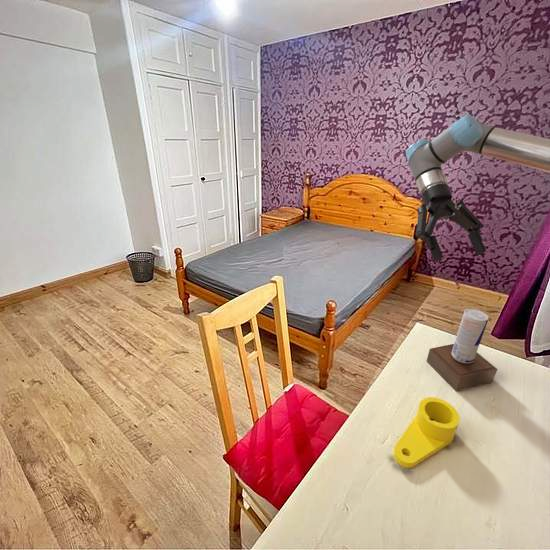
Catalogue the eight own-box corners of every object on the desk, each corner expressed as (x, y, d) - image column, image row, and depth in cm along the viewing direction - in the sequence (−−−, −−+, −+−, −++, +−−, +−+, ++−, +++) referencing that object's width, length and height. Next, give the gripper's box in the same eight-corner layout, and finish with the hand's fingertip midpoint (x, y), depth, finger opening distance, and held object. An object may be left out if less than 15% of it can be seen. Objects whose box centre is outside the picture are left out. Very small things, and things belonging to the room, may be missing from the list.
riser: (459, 354, 96) (463, 341, 94) (492, 382, 85) (497, 368, 83) (426, 361, 93) (429, 348, 91) (455, 391, 83) (460, 377, 81)
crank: (426, 408, 78) (431, 391, 76) (460, 432, 72) (466, 415, 70) (382, 448, 69) (385, 430, 67) (415, 479, 63) (421, 461, 60)
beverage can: (475, 366, 84) (491, 322, 77) (452, 362, 86) (466, 318, 79) (471, 353, 89) (485, 310, 82) (449, 349, 90) (462, 306, 84)
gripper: (460, 193, 95) (487, 256, 89) (389, 200, 90) (412, 267, 84) (479, 179, 88) (509, 245, 82) (403, 185, 83) (428, 256, 77)
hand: (460, 256), depth 83 cm, fingers open, 13 cm apart
